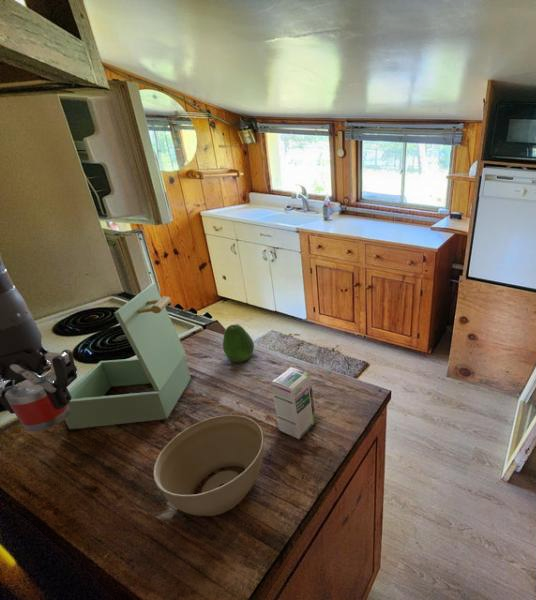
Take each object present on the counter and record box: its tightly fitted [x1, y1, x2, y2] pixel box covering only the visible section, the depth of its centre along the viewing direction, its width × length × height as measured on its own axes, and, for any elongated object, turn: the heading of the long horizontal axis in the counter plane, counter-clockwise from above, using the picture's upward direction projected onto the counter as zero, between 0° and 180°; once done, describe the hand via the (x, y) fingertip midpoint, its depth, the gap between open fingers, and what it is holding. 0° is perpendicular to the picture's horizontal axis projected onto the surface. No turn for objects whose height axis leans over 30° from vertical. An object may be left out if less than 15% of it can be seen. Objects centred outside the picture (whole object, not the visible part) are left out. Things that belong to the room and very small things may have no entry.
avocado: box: [222, 323, 255, 363], centre depth 93 cm, size 8×8×12 cm
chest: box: [63, 354, 192, 430], centre depth 76 cm, size 19×15×8 cm
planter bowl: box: [152, 414, 265, 517], centre depth 57 cm, size 16×16×11 cm
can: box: [5, 378, 70, 432], centre depth 54 cm, size 6×6×7 cm
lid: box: [113, 283, 186, 392], centre depth 72 cm, size 19×15×5 cm
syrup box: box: [270, 366, 317, 440], centre depth 70 cm, size 6×6×14 cm
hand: (41, 407), depth 55 cm, fingers closed on can, 5 cm apart
